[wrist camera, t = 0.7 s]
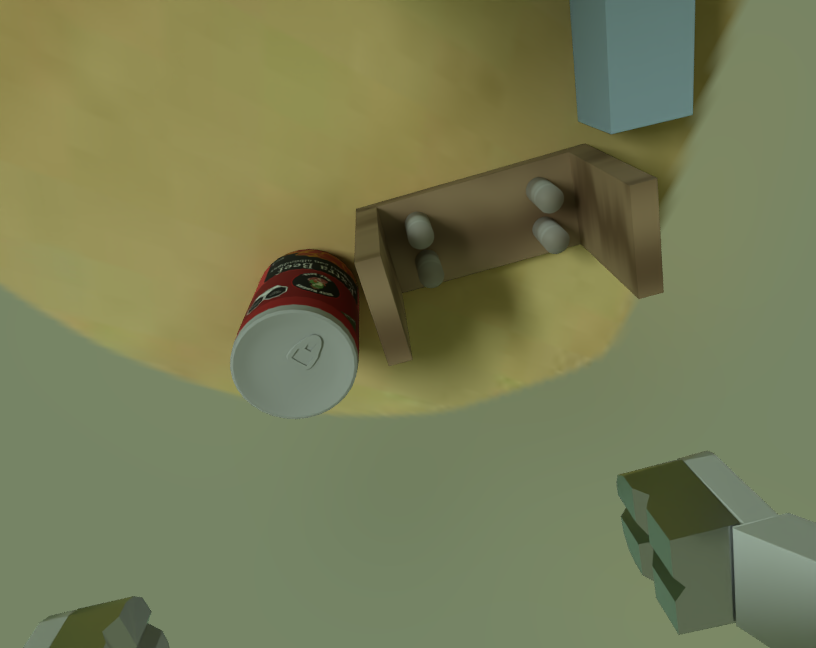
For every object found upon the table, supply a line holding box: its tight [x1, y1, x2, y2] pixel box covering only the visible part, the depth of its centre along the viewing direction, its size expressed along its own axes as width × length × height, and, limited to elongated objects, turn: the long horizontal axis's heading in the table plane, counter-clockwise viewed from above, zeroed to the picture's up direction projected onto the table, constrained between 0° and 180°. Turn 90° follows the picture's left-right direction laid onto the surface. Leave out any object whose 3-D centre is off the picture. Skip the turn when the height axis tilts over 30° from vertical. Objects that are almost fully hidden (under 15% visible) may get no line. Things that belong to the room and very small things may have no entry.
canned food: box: [230, 249, 359, 419], centre depth 39 cm, size 8×8×11 cm
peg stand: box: [354, 144, 664, 366], centre depth 37 cm, size 7×17×11 cm, turn 105°
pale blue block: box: [570, 0, 695, 134], centre depth 34 cm, size 12×5×6 cm, turn 12°
